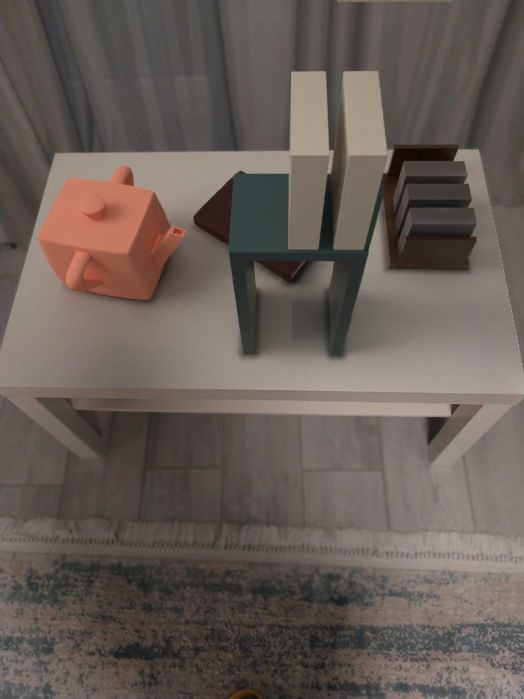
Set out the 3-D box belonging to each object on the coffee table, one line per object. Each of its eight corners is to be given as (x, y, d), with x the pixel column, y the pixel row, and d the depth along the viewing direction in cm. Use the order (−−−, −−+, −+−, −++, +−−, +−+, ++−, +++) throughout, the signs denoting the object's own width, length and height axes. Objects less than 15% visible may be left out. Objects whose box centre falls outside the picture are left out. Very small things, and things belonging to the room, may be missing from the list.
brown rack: (467, 269, 76) (490, 231, 68) (388, 269, 77) (402, 231, 69) (450, 177, 85) (468, 133, 76) (379, 177, 85) (390, 134, 77)
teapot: (49, 314, 75) (3, 259, 62) (101, 204, 84) (70, 137, 72) (174, 338, 73) (153, 286, 60) (214, 222, 82) (202, 156, 69)
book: (289, 286, 76) (290, 274, 73) (194, 227, 81) (191, 214, 78) (335, 233, 80) (337, 220, 77) (241, 181, 86) (240, 166, 83)
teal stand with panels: (338, 292, 75) (384, 68, 43) (341, 355, 71) (394, 157, 38) (246, 291, 76) (222, 69, 43) (243, 354, 71) (214, 158, 39)
